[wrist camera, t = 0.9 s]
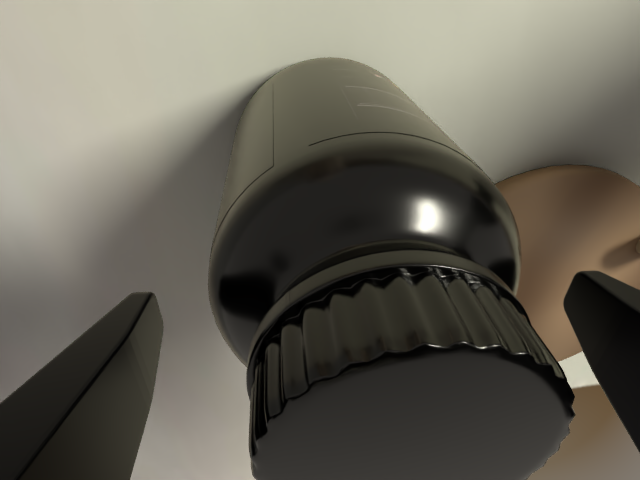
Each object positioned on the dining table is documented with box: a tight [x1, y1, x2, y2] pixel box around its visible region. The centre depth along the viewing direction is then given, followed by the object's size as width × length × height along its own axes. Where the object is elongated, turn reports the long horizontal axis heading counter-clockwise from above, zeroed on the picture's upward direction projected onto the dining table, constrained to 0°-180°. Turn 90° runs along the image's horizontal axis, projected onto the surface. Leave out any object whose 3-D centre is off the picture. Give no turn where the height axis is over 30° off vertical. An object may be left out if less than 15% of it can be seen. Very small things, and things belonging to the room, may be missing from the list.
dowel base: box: [495, 165, 640, 362], centre depth 19 cm, size 12×12×3 cm
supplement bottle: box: [208, 57, 575, 480], centre depth 11 cm, size 7×7×12 cm
